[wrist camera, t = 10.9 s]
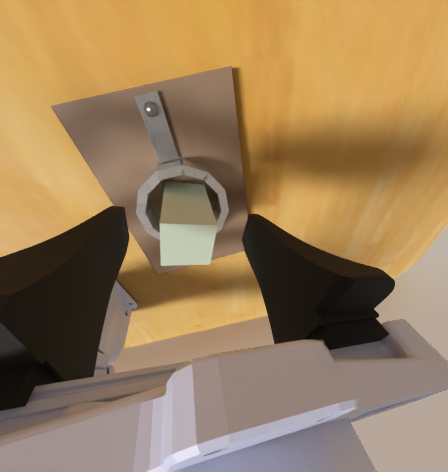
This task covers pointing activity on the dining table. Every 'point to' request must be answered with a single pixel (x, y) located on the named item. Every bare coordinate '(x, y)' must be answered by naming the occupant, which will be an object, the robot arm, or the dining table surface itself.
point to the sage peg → (186, 225)
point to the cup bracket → (165, 152)
